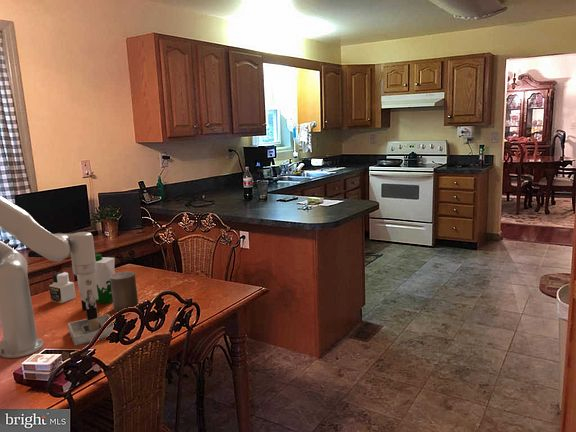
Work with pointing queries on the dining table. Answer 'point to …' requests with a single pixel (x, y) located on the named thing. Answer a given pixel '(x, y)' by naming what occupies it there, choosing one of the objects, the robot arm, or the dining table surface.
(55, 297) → the medicine bottle
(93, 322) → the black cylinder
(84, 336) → the tin
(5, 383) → the dining table surface
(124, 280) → the pillar candle
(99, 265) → the milk carton
